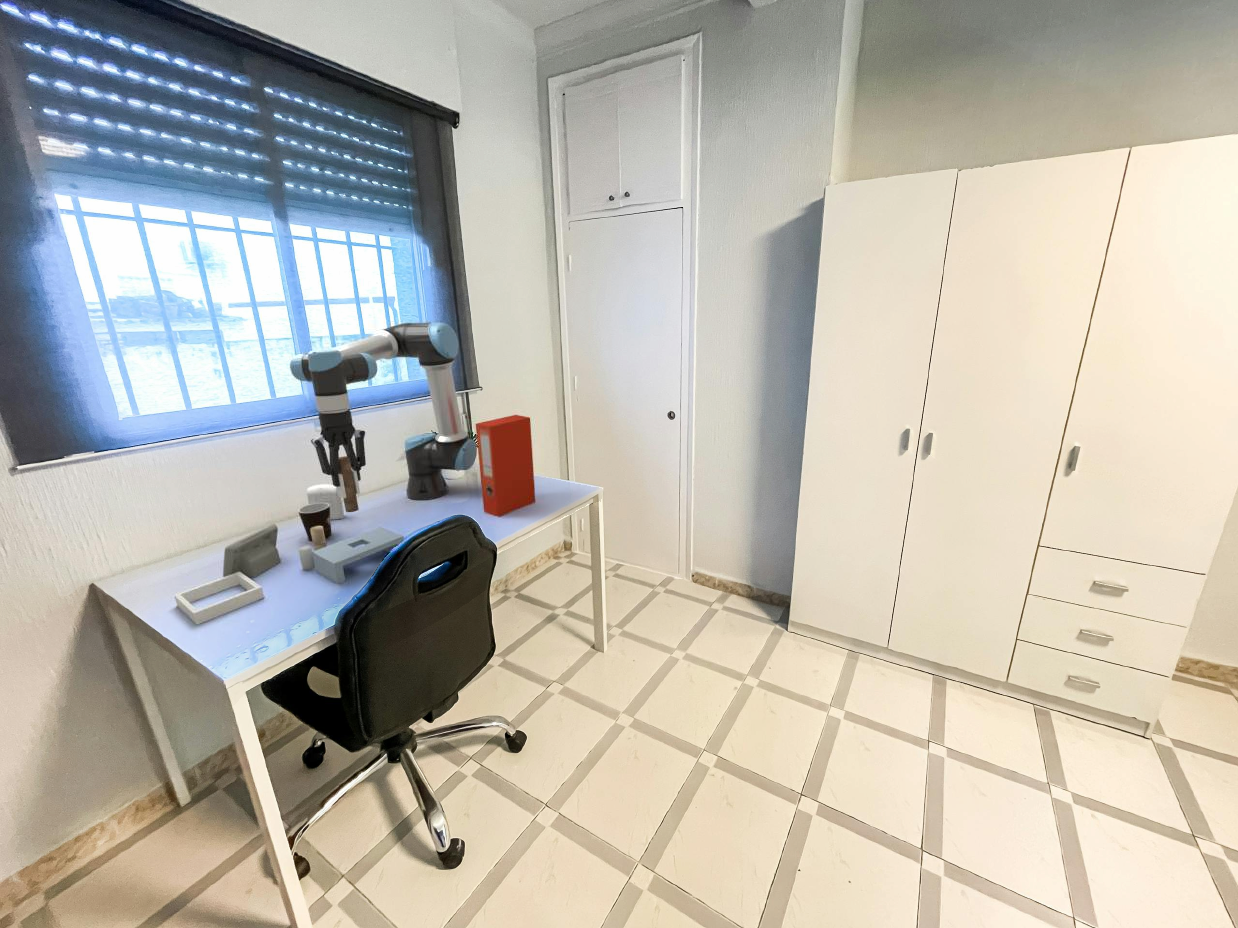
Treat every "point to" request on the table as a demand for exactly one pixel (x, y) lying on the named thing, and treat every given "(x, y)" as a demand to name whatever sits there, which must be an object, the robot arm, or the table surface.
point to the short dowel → (306, 557)
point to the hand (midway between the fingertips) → (349, 494)
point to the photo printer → (327, 499)
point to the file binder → (506, 464)
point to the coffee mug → (316, 518)
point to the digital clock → (252, 553)
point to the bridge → (353, 551)
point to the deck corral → (222, 606)
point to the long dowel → (348, 484)
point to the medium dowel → (318, 537)
